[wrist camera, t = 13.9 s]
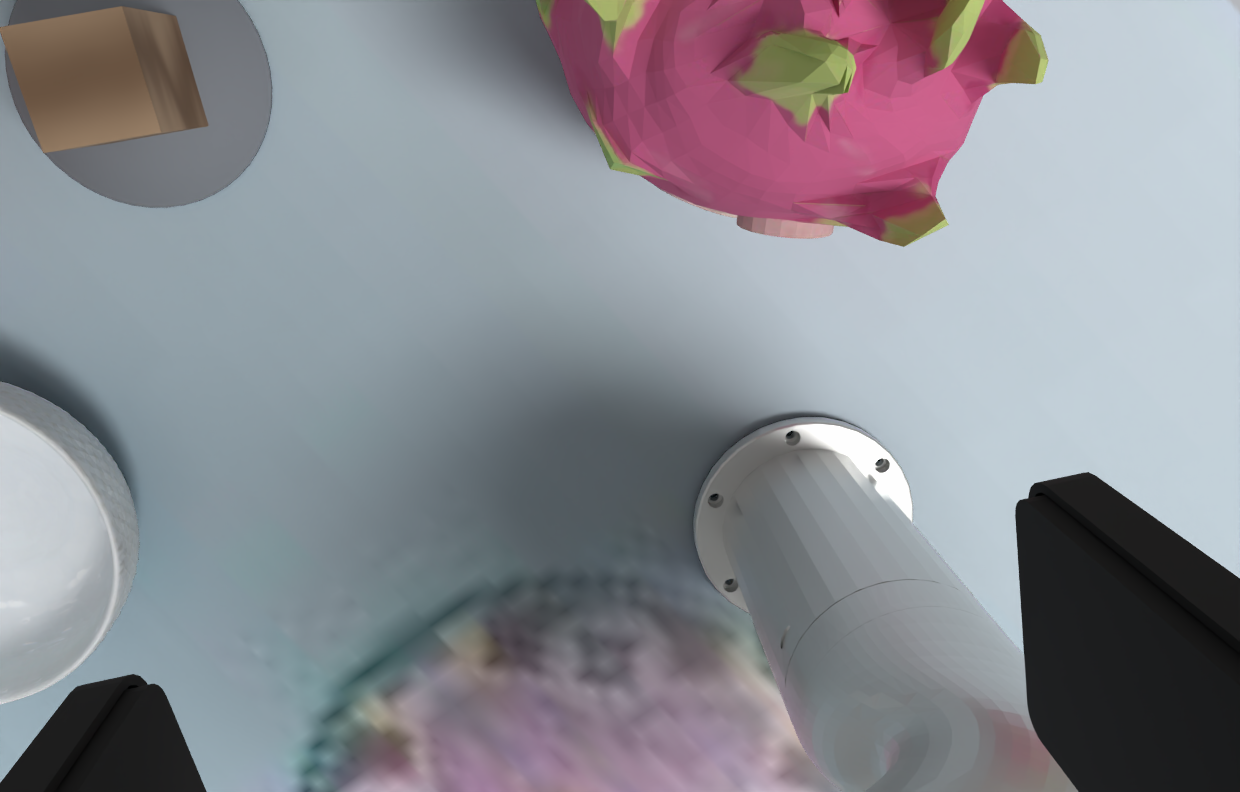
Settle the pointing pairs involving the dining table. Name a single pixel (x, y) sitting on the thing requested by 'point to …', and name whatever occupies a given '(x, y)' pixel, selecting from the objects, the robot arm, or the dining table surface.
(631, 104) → the pink dragon fruit
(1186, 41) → the dining table surface
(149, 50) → the walnut block
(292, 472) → the dining table surface
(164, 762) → the robot arm
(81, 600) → the cereal bowl
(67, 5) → the disc
